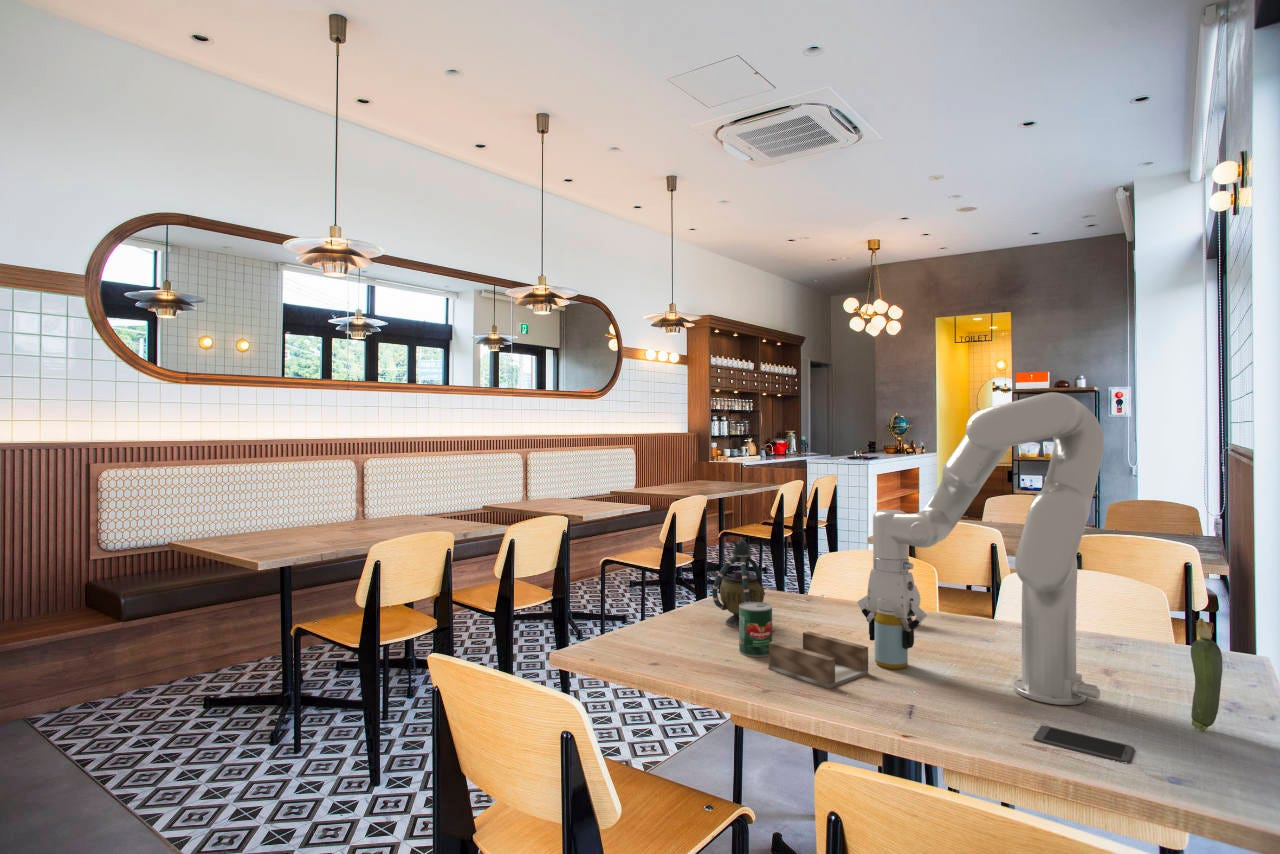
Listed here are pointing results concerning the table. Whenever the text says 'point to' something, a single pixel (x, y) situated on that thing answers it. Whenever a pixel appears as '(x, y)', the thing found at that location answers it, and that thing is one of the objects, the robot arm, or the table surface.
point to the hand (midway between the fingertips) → (891, 643)
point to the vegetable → (1205, 678)
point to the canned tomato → (755, 628)
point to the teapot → (738, 584)
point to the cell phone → (1084, 744)
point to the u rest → (820, 660)
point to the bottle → (889, 638)
